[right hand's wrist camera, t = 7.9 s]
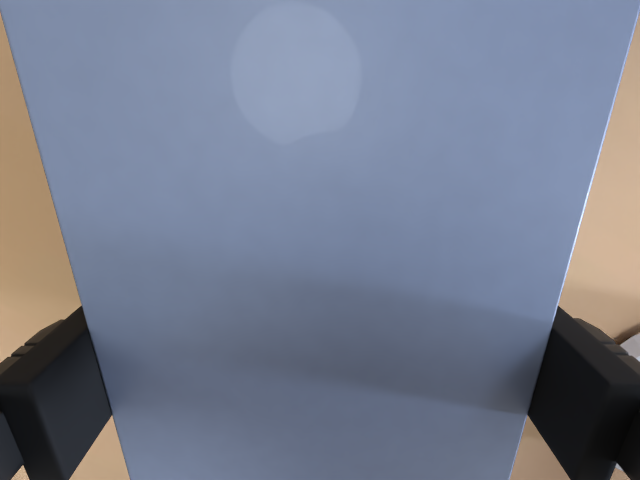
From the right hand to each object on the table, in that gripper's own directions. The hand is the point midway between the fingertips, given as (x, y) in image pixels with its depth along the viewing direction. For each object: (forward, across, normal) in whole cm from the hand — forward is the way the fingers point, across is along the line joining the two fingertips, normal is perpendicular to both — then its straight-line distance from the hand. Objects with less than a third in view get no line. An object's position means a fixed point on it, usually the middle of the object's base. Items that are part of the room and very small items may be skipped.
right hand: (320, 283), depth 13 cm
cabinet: (+4, 0, -5) cm, 7 cm away
